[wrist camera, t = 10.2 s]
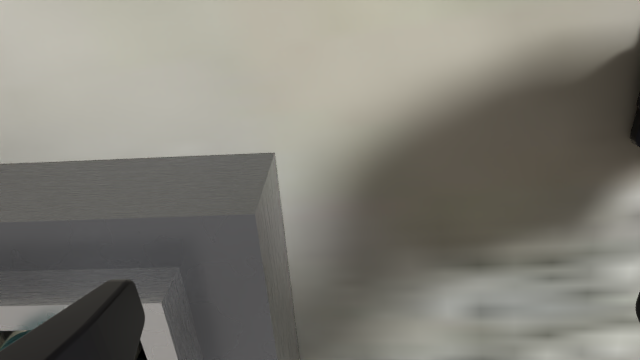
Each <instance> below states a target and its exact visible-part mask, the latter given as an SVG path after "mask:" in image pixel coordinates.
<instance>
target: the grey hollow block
mask: <svg viewBox="0 0 640 360" xmlns="http://www.w3.org/2000/svg"><path fill="white" fill-rule="evenodd" d="M112 279H130V280H132V281H133V282H134V283H135V285H136V288H137V291H138V294H139V297H140V300H141V303H142V306H143V309H144V313H145V323H144V328H143V331H142V335H141V338H140V340H141V343H142V346H143V347H142V349H141V351H140V353H139V355H138V358H137V360H300V357H299V349H298V341H297V332H296V324H295V316H294V308H293V299H292V291H291V283H290V275H289V266H288V258H287V250H286V242H285V234H284V225H283V217H282V209H281V201H280V192H279V184H278V176H277V168H276V160H275V153H259V154H235V155H211V156H187V157H163V158H139V159H115V160H91V161H68V162H44V163H20V164H0V348H1V346H2V345H3V343H4V342H5V341H6V340H7V338H8V337H9V336H10V335H11V334H12V333H13V331H24V330H33V329H34V328H36V327H38V326H39V325H41V324H42V323H44V322H45V321H47V320H48V319H50V318H51V317H53V316H54V315H56V314H57V313H59V312H60V311H62V310H63V309H65V308H67V307H68V306H70V305H71V304H73V303H74V302H76V301H77V300H79V299H80V298H82V297H83V296H85V295H86V294H88V293H89V292H91V291H92V290H94V289H95V288H97V287H99V286H100V285H102V284H103V283H105V282H106V281H108V280H112Z"/></svg>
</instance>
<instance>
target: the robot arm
mask: <svg viewBox="0 0 640 360" xmlns="http://www.w3.org/2000/svg"><path fill="white" fill-rule="evenodd" d="M637 106H638V109H637V113H636V116H635V120H634V124H633V127H632V131H631V136H630V139H631V141H632V142H633V143H634V144H636V145H637V146H639V147H640V93H639V97H638V101H637ZM636 314H637V317H638V320H639V322H640V292H639V295H638V298H637V301H636ZM144 323H145V313H144V309H143V306H142V303H141V300H140V297H139V294H138V291H137V288H136V285H135V283H134V282H133V281H132V280H130V279H112V280H108V281H106V282H105V283H103V284H102V285H100V286H99V287H97V288H95V289H94V290H92V291H91V292H89V293H88V294H86V295H85V296H83V297H82V298H80V299H79V300H77V301H76V302H74V303H73V304H71V305H70V306H68V307H67V308H65V309H63V310H62V311H60V312H59V313H57V314H56V315H54V316H53V317H51V318H50V319H48V320H47V321H45V322H44V323H42V324H41V325H39V326H38V327H36V328H34V329H33V330H31V331H30V332H28V333H27V334H25V335H24V336H22V337H21V338H19V339H18V340H16V341H15V342H13V343H12V344H10V345H9V346H7V347H5V348H4V349H2V350H1V351H0V360H134V359H135V355H136V352H137V348H138V345H139V342H140V338H141V335H142V331H143V328H144Z"/></svg>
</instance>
